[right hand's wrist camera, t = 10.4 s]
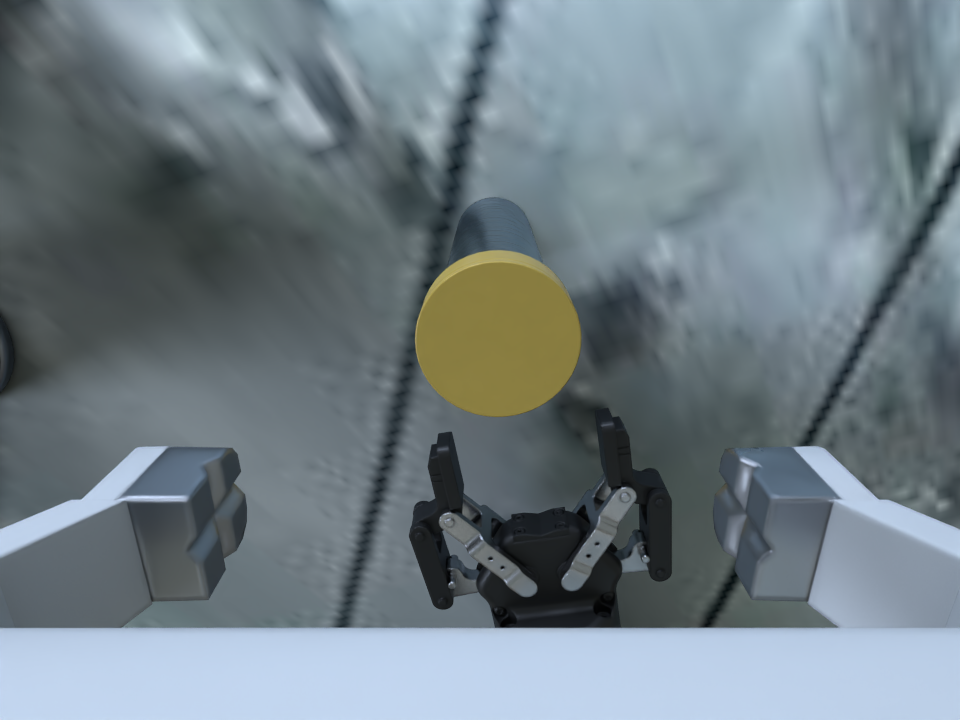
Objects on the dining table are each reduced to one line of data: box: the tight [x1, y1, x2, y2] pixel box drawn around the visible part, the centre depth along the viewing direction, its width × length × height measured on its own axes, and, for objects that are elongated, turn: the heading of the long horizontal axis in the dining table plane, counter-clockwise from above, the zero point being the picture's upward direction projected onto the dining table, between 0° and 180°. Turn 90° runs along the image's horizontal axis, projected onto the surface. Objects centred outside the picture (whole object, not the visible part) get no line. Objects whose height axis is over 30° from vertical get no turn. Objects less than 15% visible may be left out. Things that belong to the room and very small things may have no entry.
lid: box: [415, 250, 581, 417], centre depth 19 cm, size 5×5×2 cm
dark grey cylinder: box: [447, 197, 543, 268], centre depth 27 cm, size 4×4×17 cm
